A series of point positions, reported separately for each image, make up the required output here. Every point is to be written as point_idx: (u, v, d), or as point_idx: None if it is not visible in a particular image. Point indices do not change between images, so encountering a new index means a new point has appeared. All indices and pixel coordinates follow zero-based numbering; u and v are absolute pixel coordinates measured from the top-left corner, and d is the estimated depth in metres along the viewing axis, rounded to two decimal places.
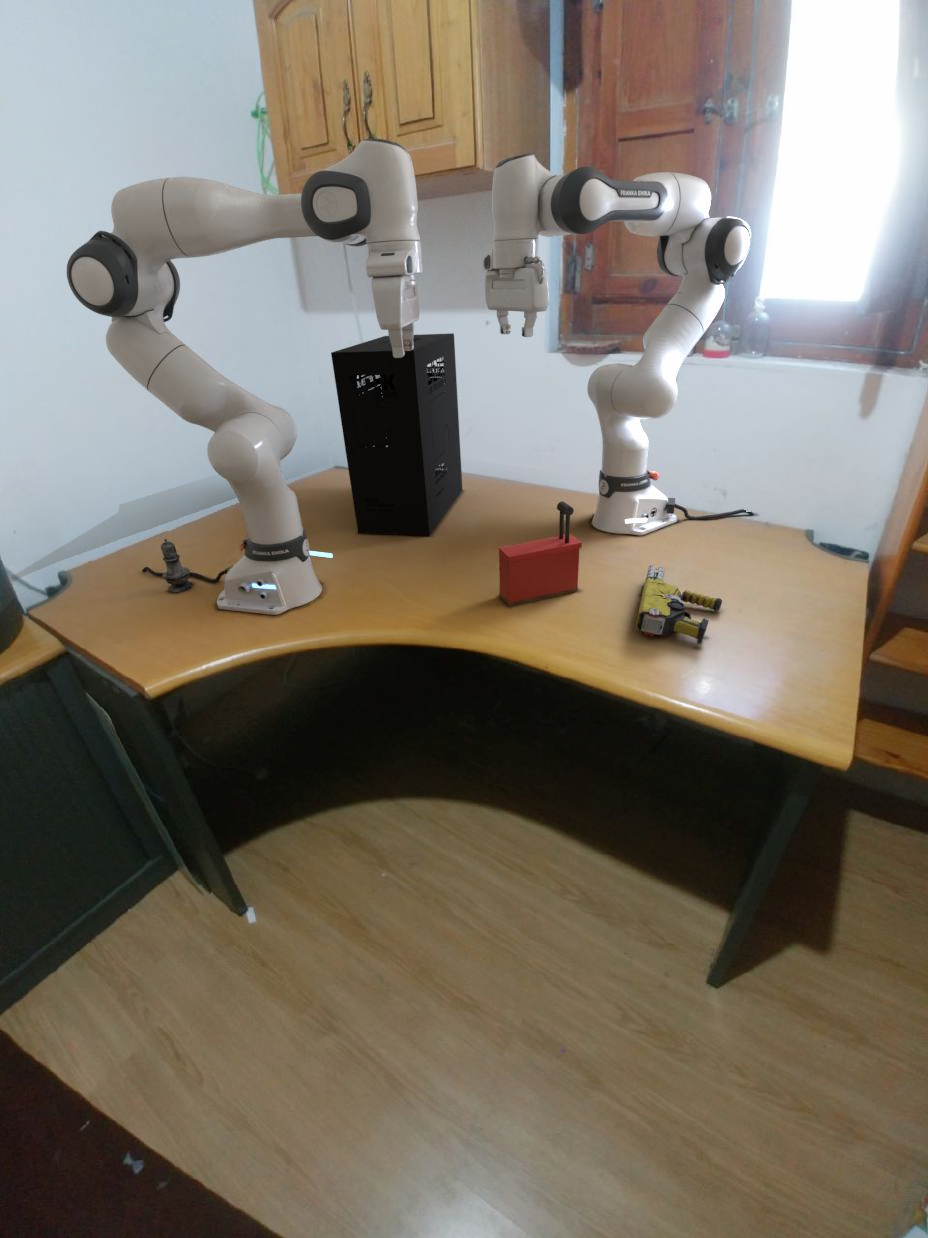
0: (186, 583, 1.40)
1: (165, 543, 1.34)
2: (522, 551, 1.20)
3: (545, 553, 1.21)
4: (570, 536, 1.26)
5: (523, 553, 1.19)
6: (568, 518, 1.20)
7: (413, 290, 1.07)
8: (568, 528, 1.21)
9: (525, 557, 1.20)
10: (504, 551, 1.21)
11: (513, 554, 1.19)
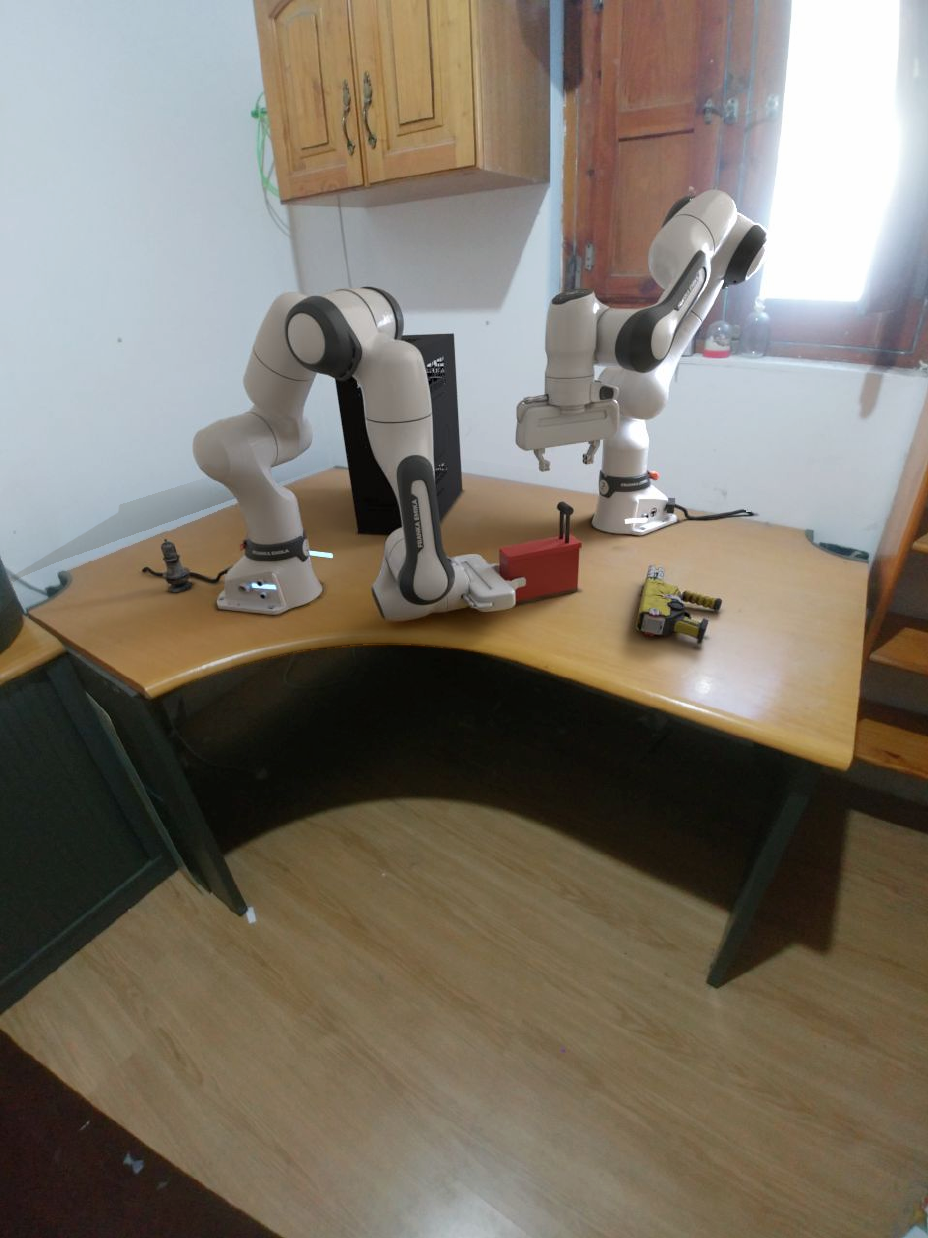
0: (186, 583, 1.40)
1: (165, 543, 1.34)
2: (522, 551, 1.20)
3: (545, 553, 1.21)
4: (570, 536, 1.26)
5: (523, 553, 1.19)
6: (568, 518, 1.20)
7: None
8: (568, 528, 1.21)
9: (525, 557, 1.19)
10: (504, 551, 1.21)
11: (513, 554, 1.19)
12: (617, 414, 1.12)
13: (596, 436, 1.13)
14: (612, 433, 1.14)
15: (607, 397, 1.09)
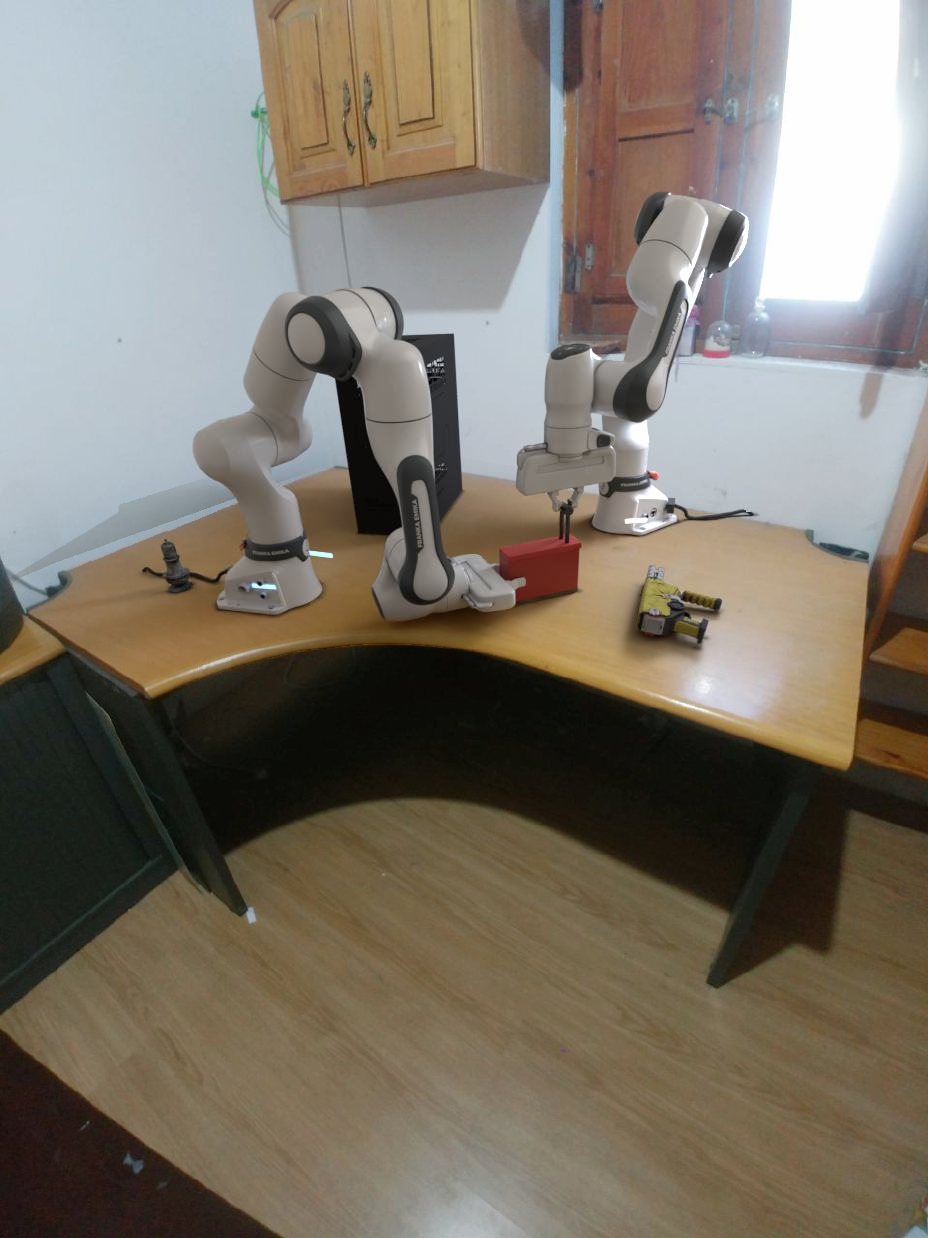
0: (186, 583, 1.40)
1: (165, 543, 1.34)
2: (522, 551, 1.20)
3: (545, 553, 1.21)
4: (570, 536, 1.26)
5: (523, 553, 1.19)
6: (568, 518, 1.20)
7: None
8: (568, 528, 1.21)
9: (525, 557, 1.19)
10: (504, 551, 1.21)
11: (513, 554, 1.19)
12: (614, 460, 1.17)
13: (594, 480, 1.18)
14: (609, 477, 1.19)
15: (604, 445, 1.13)
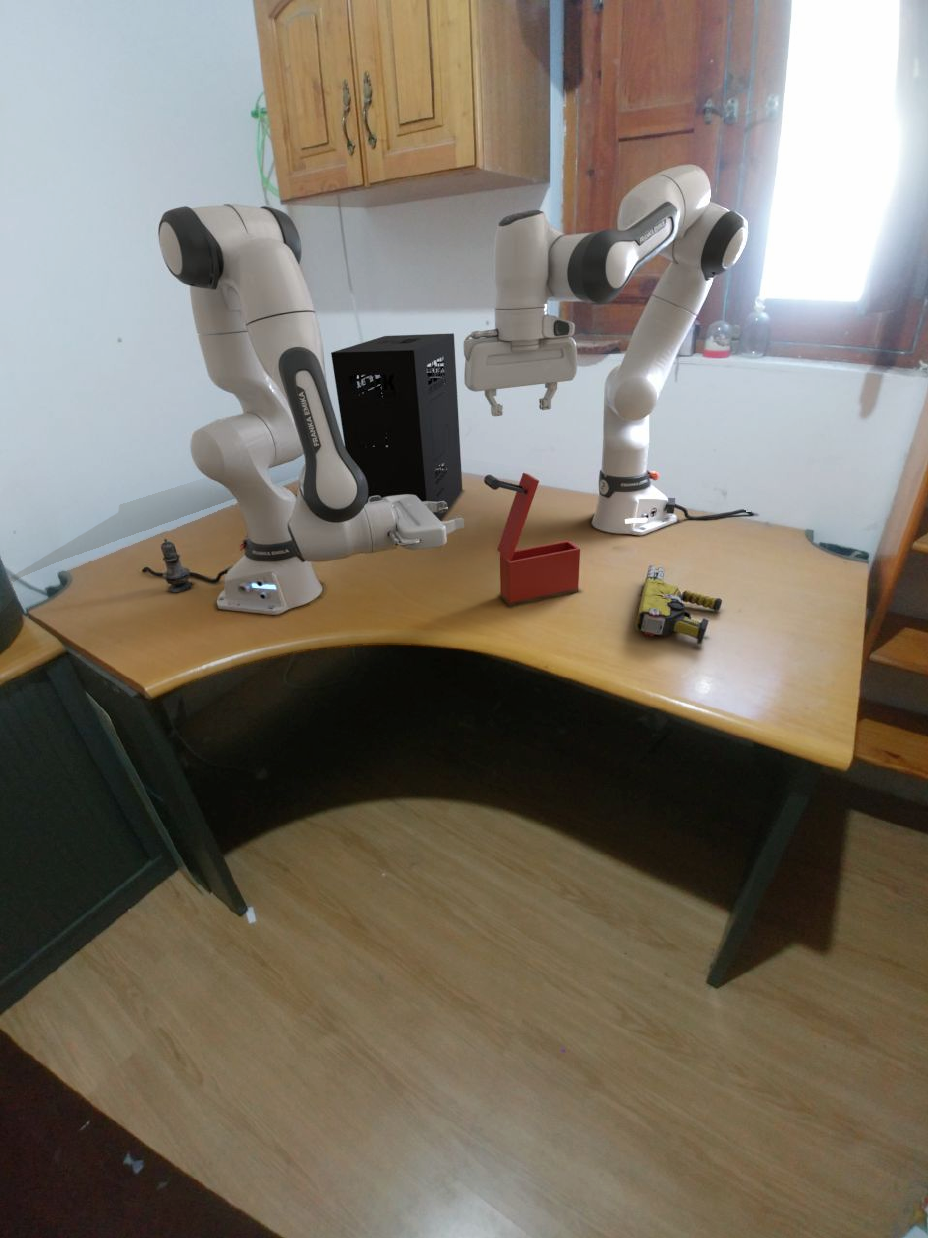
0: (186, 583, 1.40)
1: (165, 543, 1.34)
2: (509, 540, 1.18)
3: (523, 521, 1.16)
4: (524, 476, 1.15)
5: (511, 542, 1.17)
6: (502, 486, 1.12)
7: None
8: (511, 488, 1.13)
9: (515, 543, 1.17)
10: (501, 552, 1.20)
11: (507, 552, 1.18)
12: (574, 353, 1.04)
13: (552, 378, 1.05)
14: (570, 375, 1.06)
15: (562, 333, 1.01)
